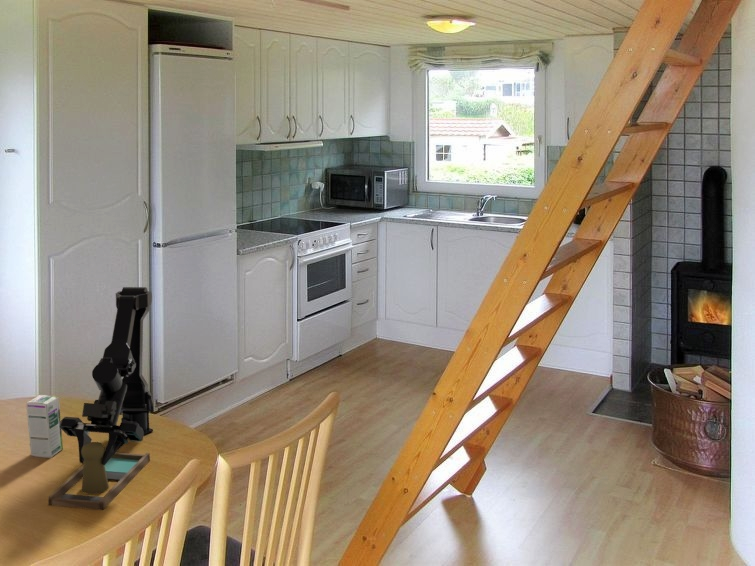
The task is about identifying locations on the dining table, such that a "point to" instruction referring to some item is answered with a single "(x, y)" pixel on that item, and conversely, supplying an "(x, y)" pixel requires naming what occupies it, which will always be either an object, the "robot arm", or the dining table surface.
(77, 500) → the channel
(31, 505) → the dining table surface
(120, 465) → the pad
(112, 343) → the robot arm
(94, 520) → the dining table surface
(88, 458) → the cork
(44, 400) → the syrup box
